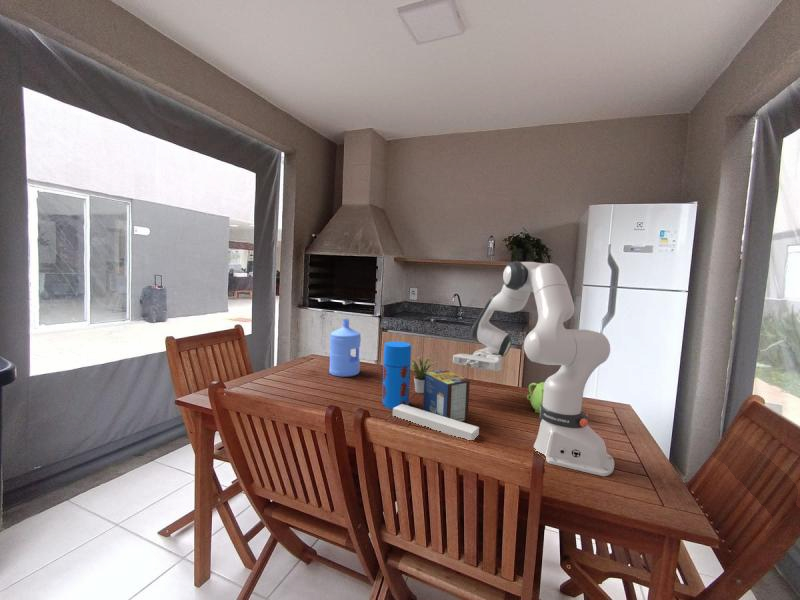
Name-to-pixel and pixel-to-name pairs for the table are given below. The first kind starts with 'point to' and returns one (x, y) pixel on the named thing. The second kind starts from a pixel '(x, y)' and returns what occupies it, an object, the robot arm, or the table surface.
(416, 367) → the house plant
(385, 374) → the thermos
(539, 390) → the teapot
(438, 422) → the board
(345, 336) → the water jug
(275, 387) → the table surface
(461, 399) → the protein box
